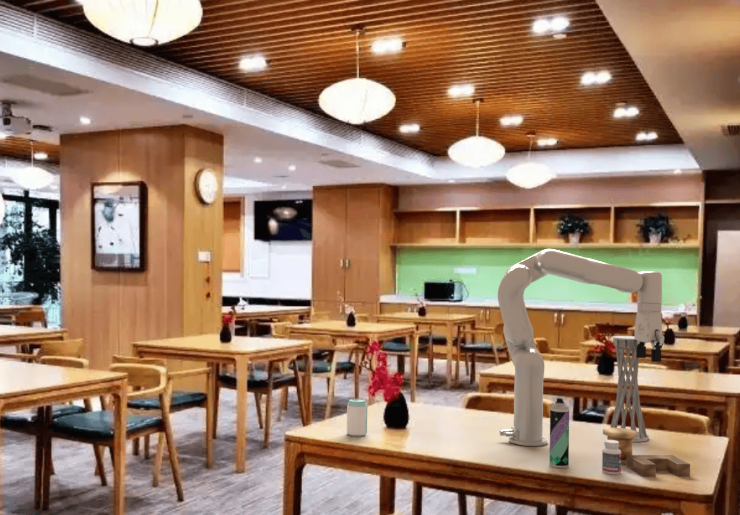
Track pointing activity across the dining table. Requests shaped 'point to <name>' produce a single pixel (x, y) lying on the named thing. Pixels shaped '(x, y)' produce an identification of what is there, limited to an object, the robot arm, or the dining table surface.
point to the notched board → (657, 465)
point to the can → (357, 417)
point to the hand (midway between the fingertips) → (648, 359)
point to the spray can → (559, 434)
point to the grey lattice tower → (633, 364)
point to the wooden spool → (621, 440)
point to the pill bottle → (611, 457)
